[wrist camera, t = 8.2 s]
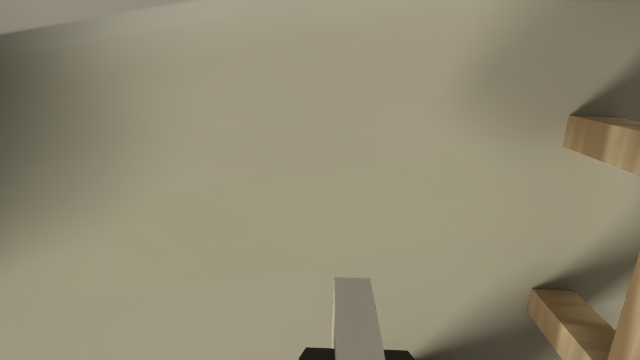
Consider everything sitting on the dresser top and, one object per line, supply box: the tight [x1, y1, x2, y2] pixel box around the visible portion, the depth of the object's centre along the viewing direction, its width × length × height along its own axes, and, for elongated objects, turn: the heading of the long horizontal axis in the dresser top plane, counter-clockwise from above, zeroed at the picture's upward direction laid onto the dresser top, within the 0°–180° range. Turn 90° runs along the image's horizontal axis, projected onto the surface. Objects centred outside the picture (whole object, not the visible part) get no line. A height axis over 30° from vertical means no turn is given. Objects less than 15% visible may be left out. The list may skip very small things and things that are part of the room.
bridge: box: [527, 116, 640, 360], centre depth 22 cm, size 3×14×9 cm, turn 178°
